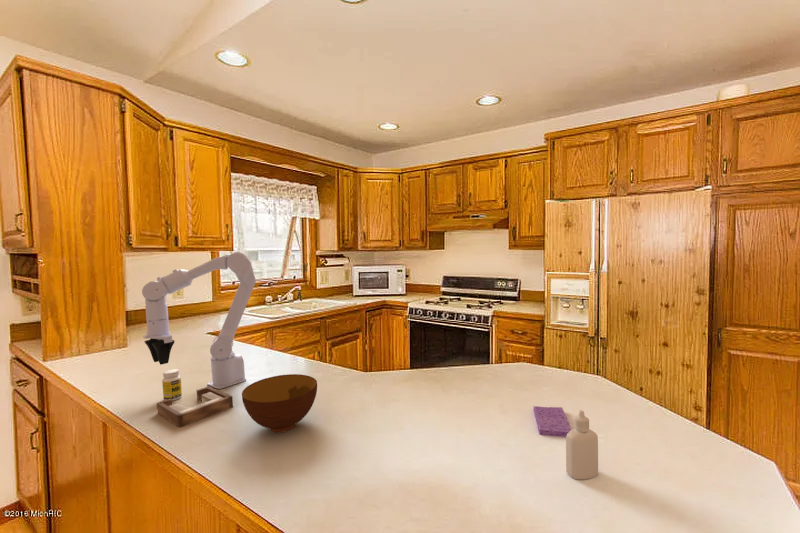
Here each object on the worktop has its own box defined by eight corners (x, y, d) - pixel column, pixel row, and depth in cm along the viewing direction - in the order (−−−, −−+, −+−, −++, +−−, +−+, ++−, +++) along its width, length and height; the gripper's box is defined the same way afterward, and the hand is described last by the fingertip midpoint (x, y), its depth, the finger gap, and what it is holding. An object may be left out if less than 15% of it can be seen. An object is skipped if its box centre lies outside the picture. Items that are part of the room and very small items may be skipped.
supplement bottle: (173, 402, 109) (171, 374, 109) (159, 401, 110) (157, 373, 110) (185, 395, 114) (183, 368, 114) (172, 394, 115) (170, 368, 115)
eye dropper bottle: (564, 465, 72) (563, 404, 71) (596, 468, 70) (595, 407, 69) (567, 479, 67) (567, 415, 67) (601, 483, 66) (601, 417, 65)
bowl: (248, 454, 80) (245, 408, 79) (241, 420, 96) (238, 383, 95) (327, 432, 88) (325, 391, 87) (309, 404, 104) (307, 369, 103)
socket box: (209, 395, 113) (208, 386, 113) (232, 406, 104) (232, 396, 104) (157, 413, 102) (156, 403, 102) (179, 427, 93) (178, 415, 93)
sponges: (539, 437, 83) (539, 428, 83) (533, 411, 95) (533, 404, 95) (573, 439, 81) (573, 431, 81) (562, 413, 94) (562, 406, 94)
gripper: (134, 319, 116) (137, 362, 117) (152, 324, 107) (155, 370, 108) (159, 315, 122) (162, 356, 123) (178, 319, 113) (181, 363, 114)
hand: (161, 362), depth 116 cm, fingers open, 4 cm apart
